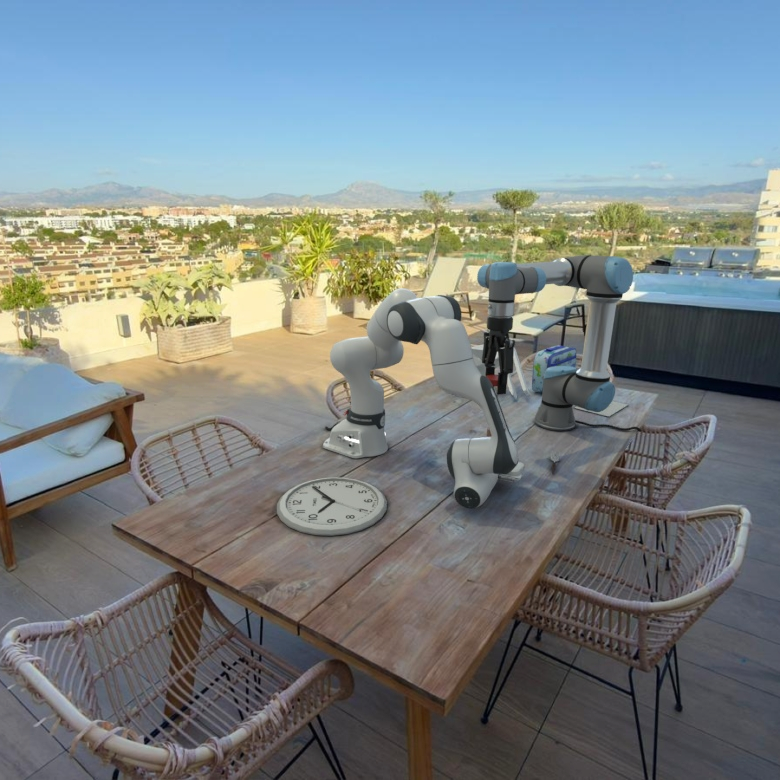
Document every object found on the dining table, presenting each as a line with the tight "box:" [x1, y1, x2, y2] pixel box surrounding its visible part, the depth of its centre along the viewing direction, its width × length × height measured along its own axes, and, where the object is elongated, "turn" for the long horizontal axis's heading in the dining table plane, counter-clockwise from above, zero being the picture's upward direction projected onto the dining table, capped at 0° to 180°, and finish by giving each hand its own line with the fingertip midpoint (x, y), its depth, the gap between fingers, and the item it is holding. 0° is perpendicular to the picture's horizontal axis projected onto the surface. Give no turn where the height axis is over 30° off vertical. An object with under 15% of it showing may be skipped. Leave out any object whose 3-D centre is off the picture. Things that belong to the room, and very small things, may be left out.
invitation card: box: [573, 400, 629, 418], centre depth 226 cm, size 21×1×15 cm
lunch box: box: [531, 345, 577, 394], centre depth 245 cm, size 26×11×21 cm, turn 134°
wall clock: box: [276, 476, 388, 537], centre depth 142 cm, size 30×2×30 cm
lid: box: [485, 374, 498, 387], centre depth 160 cm, size 6×7×2 cm
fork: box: [550, 450, 560, 475], centre depth 169 cm, size 3×16×2 cm, turn 160°
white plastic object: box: [471, 343, 531, 400], centre depth 245 cm, size 37×45×31 cm
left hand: (494, 455), depth 161 cm, fingers closed on jar, 5 cm apart
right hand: (495, 390), depth 161 cm, fingers closed on lid, 6 cm apart
